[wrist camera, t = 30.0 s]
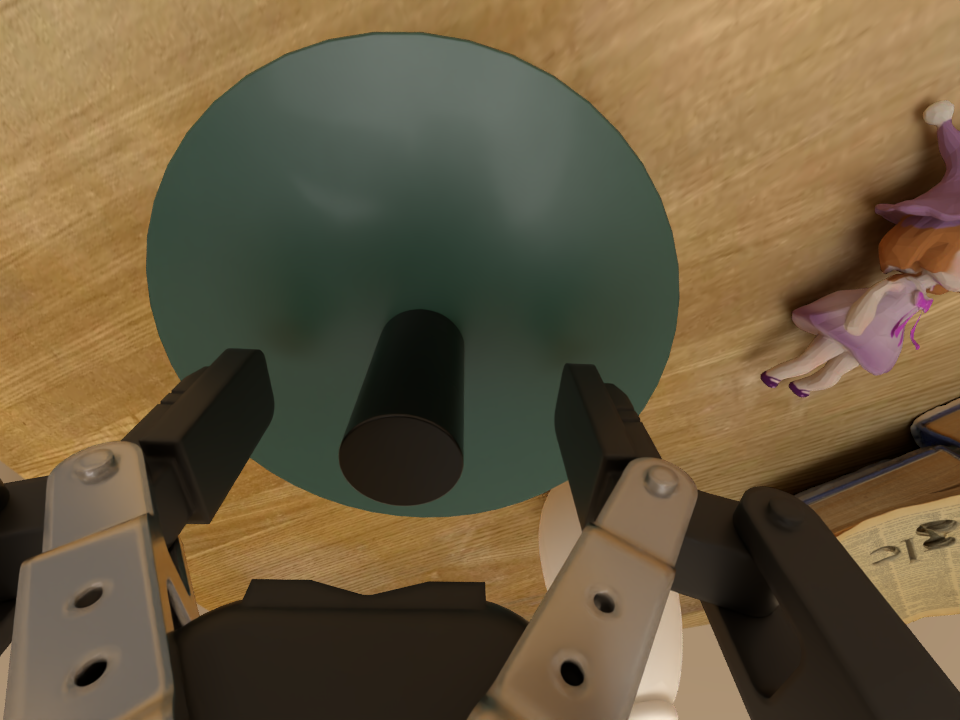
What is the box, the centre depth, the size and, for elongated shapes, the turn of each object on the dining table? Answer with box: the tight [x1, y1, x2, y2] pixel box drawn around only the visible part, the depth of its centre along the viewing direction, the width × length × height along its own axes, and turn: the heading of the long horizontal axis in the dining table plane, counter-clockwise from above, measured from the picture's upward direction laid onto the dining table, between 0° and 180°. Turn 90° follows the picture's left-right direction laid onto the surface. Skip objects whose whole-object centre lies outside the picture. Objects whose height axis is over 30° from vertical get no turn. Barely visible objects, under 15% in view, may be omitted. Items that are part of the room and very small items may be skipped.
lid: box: [146, 32, 679, 517], centre depth 12 cm, size 16×16×6 cm
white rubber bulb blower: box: [539, 481, 683, 720], centre depth 26 cm, size 8×8×18 cm
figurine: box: [761, 100, 960, 397], centre depth 23 cm, size 9×8×15 cm
